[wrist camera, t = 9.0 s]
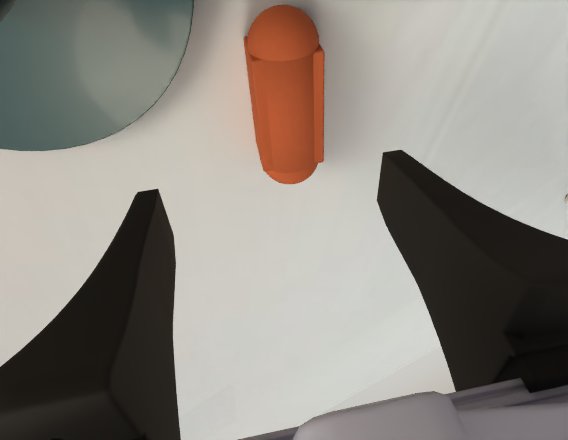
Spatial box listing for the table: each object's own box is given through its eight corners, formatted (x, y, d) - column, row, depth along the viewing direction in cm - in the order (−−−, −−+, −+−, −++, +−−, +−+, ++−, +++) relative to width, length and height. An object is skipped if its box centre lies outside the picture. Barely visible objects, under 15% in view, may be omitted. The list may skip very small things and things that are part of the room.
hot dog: (311, 156, 24) (325, 191, 22) (258, 165, 24) (267, 200, 22) (309, -10, 18) (327, 15, 16) (238, -1, 18) (248, 26, 16)
